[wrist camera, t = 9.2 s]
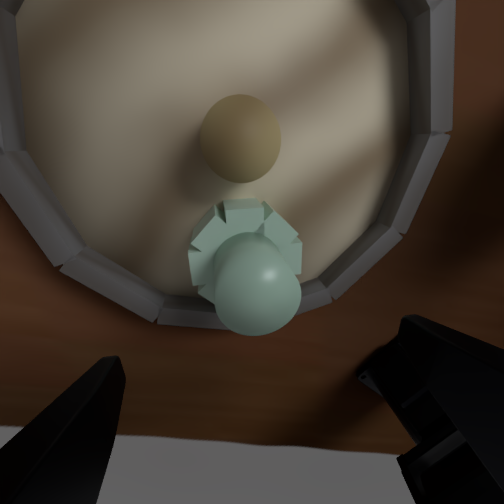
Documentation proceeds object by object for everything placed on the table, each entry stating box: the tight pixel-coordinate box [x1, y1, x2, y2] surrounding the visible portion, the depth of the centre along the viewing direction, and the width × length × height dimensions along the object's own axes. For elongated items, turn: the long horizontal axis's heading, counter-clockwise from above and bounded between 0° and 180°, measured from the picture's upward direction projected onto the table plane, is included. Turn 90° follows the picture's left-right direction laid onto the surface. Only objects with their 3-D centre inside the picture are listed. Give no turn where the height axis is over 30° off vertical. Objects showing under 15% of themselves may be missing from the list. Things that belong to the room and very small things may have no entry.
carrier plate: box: [0, 0, 456, 330], centre depth 13 cm, size 24×24×4 cm
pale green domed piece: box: [188, 198, 302, 336], centre depth 13 cm, size 6×6×6 cm
